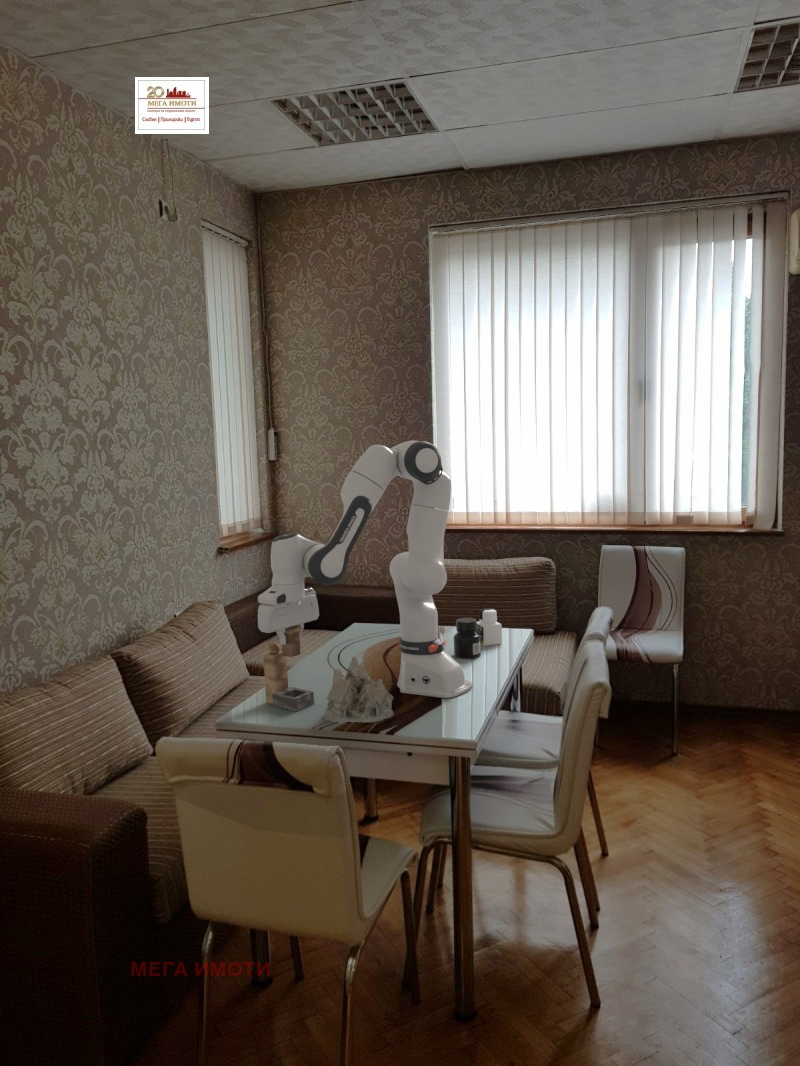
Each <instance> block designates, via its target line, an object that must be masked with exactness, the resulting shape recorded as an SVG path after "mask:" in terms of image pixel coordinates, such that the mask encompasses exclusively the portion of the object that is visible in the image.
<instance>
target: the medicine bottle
mask: <svg viewBox="0 0 800 1066" xmlns="http://www.w3.org/2000/svg"><path fill="white" fill-rule="evenodd" d="M497 611H498V610H496V609H495V608H491V607H490V608H488V607H486V608H482V609H480V610H479V612H478V615H479V618H478V619H479V621H477V631H476V632H477V633H478V634H479V635H480V646H483V647H486V646H488V647H489V646H495V645H502V644H503V629H502V628H503V627H502V623H500V622H498V616H497V615H498V612H497Z"/></svg>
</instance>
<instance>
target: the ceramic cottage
mask: <svg viewBox="0 0 800 1066" xmlns="http://www.w3.org/2000/svg"><path fill="white" fill-rule="evenodd" d="M326 699H327V701H328V702H327V705H326V706H327V707H326V708H325V712H324V716H325V717H324V719H325V718H326V719H328V720H330V721H329V722H331V721H335V722H334V723H336V722H342V723H341V724H344V723H343V722H359V723H360V722H361V723H376V722H375V721H379V722H381V721H380V720H382V721H384V720H383V719H385V720H387V719H390V718H392V717H393V716H394V711H393V709H392V706H393V705H392V704H393V700H394V696H393V695H392V694H390V693H389V692H388V690H387V688H386V686H385V685H384V683H383V679H380V678H379V679H377V681H375V680H374V679H372V678H369V675H368V672H367V671H366V669H365V667H364V665H363V663H361V664H359V662H358V659H357V656H352V657H351V661H350V667H348V671H347V672H346V675H345V678H343V675H342V671H341V669H340V668H335V669H334V670H333V678H332V685H331V688H330V690H329V693H328V695H327V696H326ZM392 715H393V716H392ZM391 716H392V717H391ZM326 719H325V720H326ZM328 720H327V721H328Z"/></svg>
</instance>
